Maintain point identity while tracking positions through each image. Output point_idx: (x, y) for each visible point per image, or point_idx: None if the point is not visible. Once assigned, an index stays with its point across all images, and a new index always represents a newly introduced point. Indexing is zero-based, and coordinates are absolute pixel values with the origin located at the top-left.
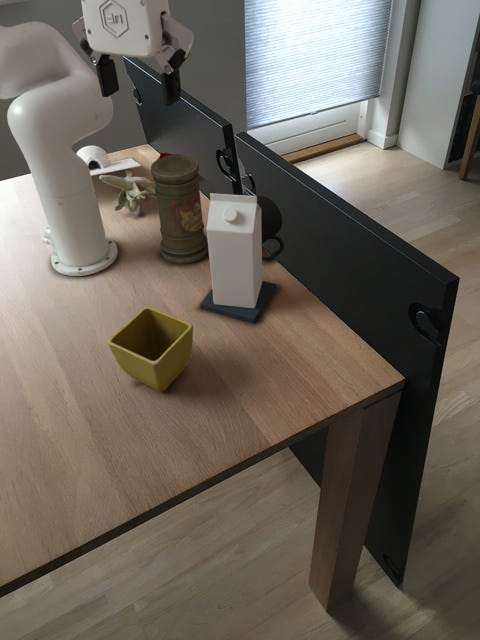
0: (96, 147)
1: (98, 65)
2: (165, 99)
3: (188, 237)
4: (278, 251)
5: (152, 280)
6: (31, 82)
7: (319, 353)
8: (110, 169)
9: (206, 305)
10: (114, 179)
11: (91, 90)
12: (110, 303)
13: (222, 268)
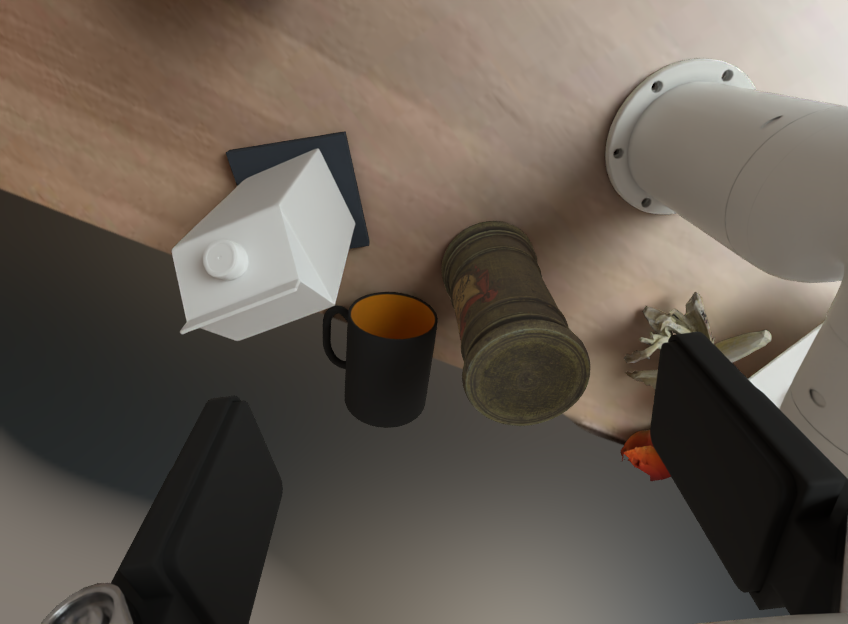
0: None
1: (829, 499)
2: (212, 419)
3: (461, 267)
4: (324, 339)
5: (490, 154)
6: None
7: (78, 144)
8: (770, 380)
9: (330, 137)
10: (734, 349)
11: None
12: (526, 36)
13: (275, 182)
